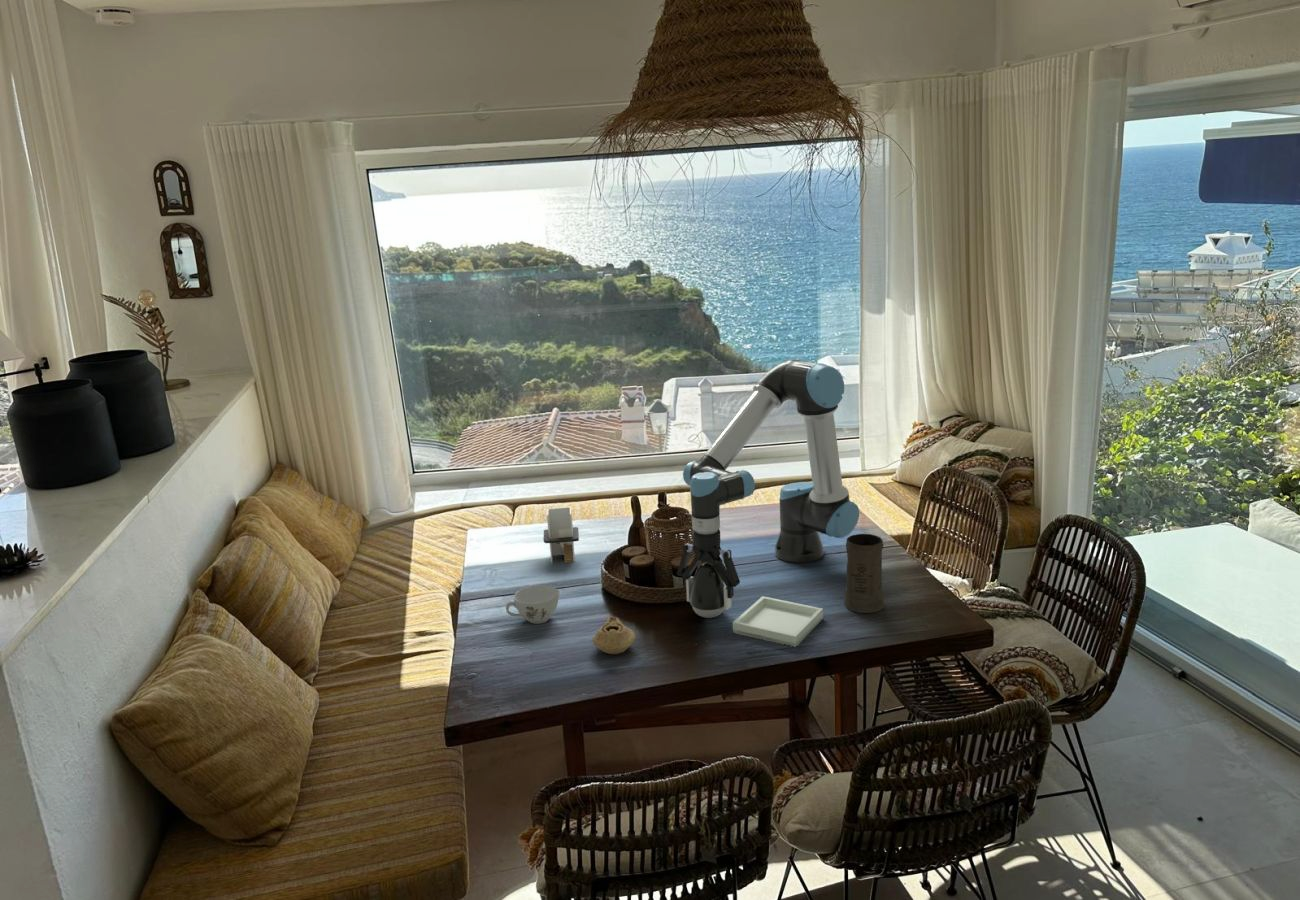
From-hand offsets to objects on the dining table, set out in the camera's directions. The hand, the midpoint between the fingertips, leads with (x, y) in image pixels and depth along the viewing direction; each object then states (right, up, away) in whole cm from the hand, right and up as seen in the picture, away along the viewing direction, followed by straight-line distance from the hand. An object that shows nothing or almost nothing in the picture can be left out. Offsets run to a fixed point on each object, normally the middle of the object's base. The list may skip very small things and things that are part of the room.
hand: (708, 603), depth 260 cm
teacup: (-49, -5, +3) cm, 49 cm away
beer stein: (+44, 0, +3) cm, 44 cm away
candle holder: (-45, +7, +45) cm, 64 cm away
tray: (+18, -5, -8) cm, 20 cm away
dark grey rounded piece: (0, -3, +1) cm, 3 cm away
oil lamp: (-26, -9, -15) cm, 31 cm away
